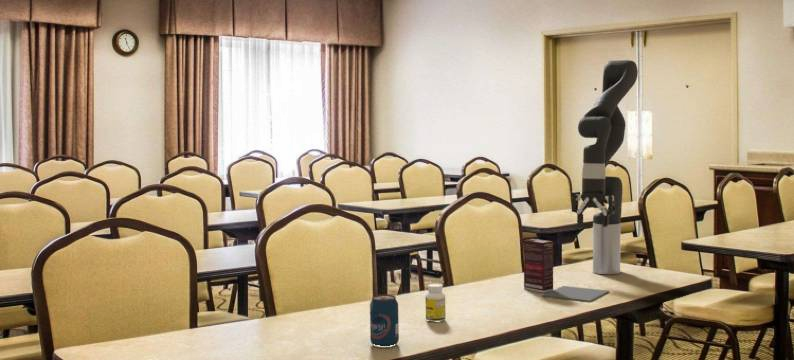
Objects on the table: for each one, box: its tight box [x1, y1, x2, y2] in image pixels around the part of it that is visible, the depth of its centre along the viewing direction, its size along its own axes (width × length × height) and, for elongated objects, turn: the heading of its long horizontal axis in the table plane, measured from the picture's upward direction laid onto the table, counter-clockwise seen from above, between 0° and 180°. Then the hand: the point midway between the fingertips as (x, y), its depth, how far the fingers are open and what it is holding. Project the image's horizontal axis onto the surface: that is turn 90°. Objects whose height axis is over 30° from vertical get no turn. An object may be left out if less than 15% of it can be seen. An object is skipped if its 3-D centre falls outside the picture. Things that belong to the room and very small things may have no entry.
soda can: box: [369, 294, 400, 346], centre depth 221 cm, size 7×7×12 cm
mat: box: [542, 285, 610, 303], centre depth 276 cm, size 16×15×1 cm
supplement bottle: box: [425, 283, 447, 322], centre depth 245 cm, size 5×5×10 cm
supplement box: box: [523, 238, 554, 294], centre depth 282 cm, size 9×5×16 cm, turn 39°
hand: (592, 226), depth 298 cm, fingers open, 8 cm apart
